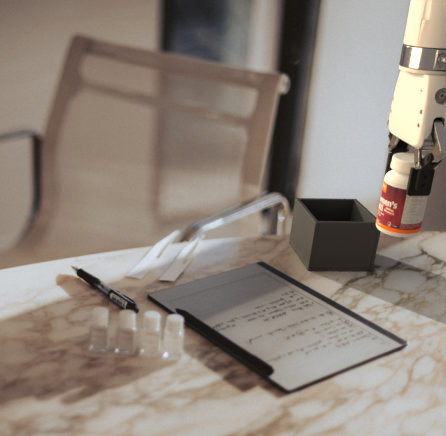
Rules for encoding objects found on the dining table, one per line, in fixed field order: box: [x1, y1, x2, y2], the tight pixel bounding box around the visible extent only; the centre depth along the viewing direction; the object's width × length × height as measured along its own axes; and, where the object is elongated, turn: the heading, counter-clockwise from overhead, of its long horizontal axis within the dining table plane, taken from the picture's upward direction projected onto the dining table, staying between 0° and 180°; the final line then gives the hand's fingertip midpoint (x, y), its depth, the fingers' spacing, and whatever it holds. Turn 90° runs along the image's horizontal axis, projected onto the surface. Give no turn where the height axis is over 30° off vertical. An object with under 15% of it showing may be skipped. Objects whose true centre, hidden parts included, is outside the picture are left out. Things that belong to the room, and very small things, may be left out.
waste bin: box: [288, 197, 382, 272], centre depth 105 cm, size 11×11×9 cm
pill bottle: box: [376, 152, 429, 238], centre depth 90 cm, size 6×6×11 cm
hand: (406, 185), depth 90 cm, fingers closed on pill bottle, 6 cm apart
